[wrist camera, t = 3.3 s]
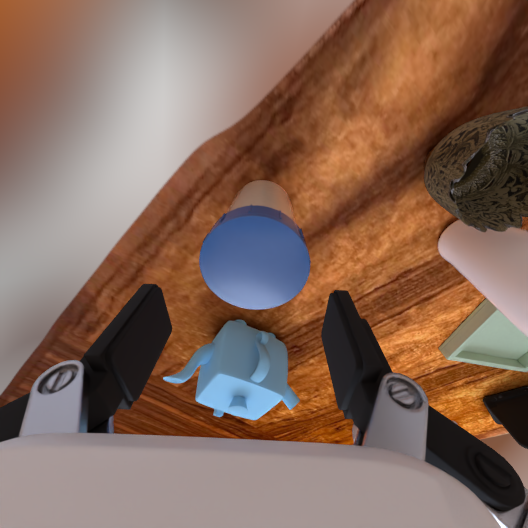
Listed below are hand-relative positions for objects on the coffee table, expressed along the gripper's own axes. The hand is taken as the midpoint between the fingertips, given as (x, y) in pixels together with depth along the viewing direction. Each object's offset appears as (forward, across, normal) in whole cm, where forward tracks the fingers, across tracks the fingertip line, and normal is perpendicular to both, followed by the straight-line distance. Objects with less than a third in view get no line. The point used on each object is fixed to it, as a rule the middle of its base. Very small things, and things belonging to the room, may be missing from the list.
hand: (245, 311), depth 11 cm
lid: (+4, 0, 0) cm, 4 cm away
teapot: (+15, +2, +20) cm, 26 cm away
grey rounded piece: (+15, -16, -6) cm, 23 cm away
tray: (+14, -34, +15) cm, 40 cm away
